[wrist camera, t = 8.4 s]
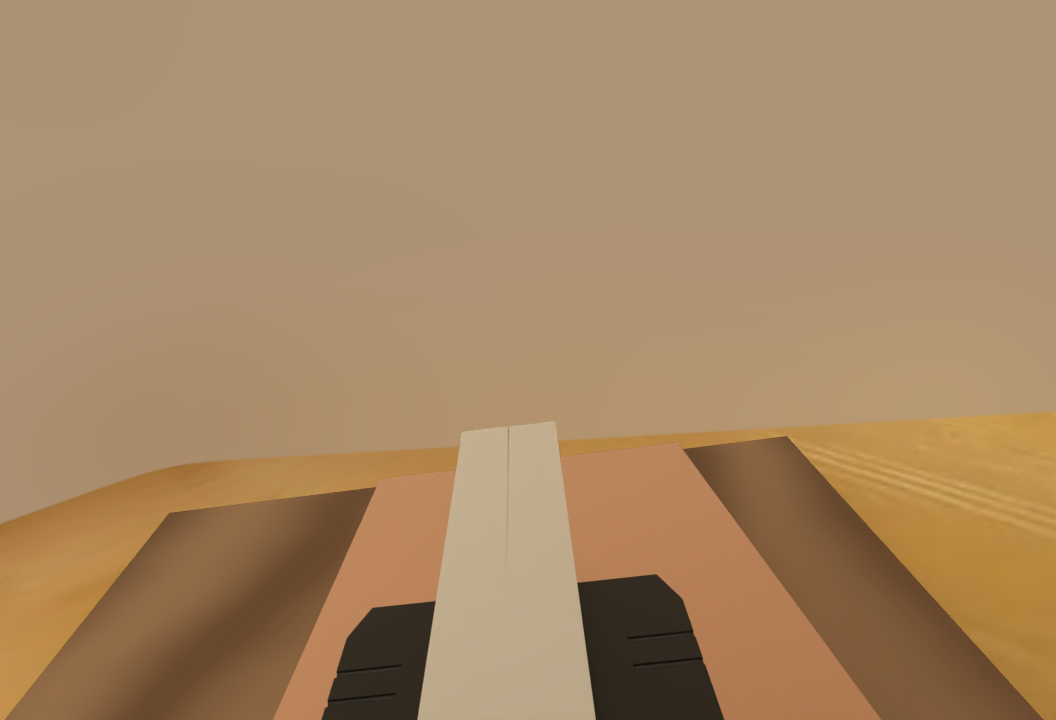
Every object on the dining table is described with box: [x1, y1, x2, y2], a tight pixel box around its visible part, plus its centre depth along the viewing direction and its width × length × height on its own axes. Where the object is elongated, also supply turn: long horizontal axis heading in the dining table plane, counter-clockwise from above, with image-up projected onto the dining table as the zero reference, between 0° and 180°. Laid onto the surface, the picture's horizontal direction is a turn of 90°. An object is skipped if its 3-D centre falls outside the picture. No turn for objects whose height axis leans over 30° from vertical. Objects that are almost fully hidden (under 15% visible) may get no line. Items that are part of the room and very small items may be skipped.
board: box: [5, 436, 1043, 720], centre depth 19 cm, size 24×21×2 cm
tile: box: [273, 442, 881, 720], centre depth 18 cm, size 10×2×14 cm
